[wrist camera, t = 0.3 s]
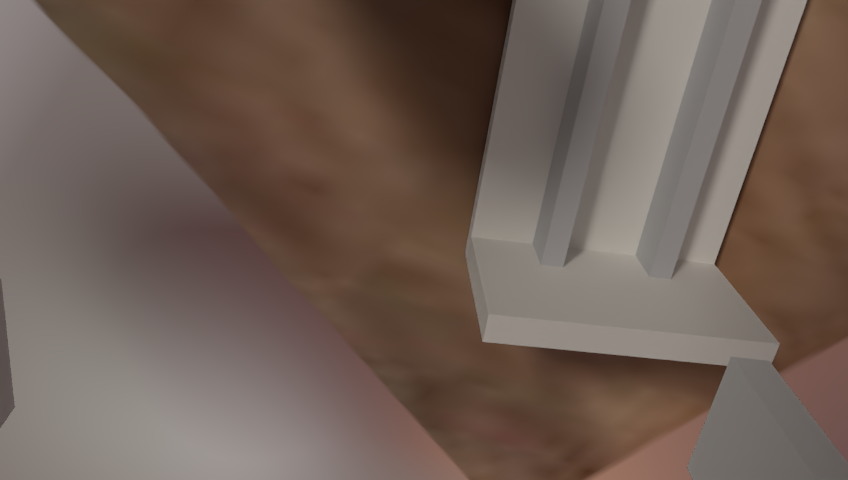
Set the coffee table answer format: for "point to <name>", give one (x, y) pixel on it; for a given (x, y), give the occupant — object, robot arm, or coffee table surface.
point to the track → (623, 175)
